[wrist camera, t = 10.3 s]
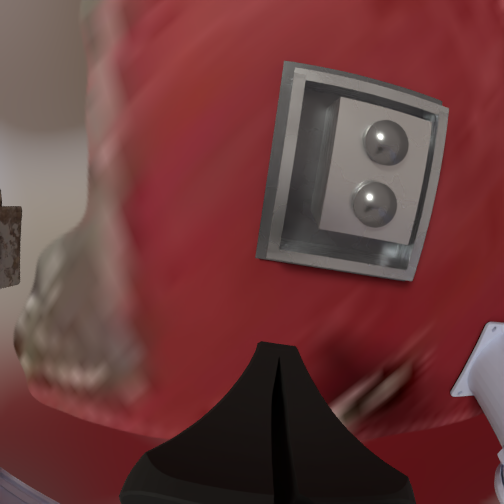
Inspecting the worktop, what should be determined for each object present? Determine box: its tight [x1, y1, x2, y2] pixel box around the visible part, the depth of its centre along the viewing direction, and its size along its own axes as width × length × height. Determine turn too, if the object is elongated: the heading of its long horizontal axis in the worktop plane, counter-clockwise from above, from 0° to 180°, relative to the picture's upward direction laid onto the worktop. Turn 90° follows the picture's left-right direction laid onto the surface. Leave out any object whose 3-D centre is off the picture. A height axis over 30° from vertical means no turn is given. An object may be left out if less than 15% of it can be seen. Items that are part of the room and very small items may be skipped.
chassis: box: [255, 61, 449, 281], centre depth 17 cm, size 10×12×3 cm
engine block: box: [311, 97, 432, 245], centre depth 15 cm, size 4×6×5 cm
